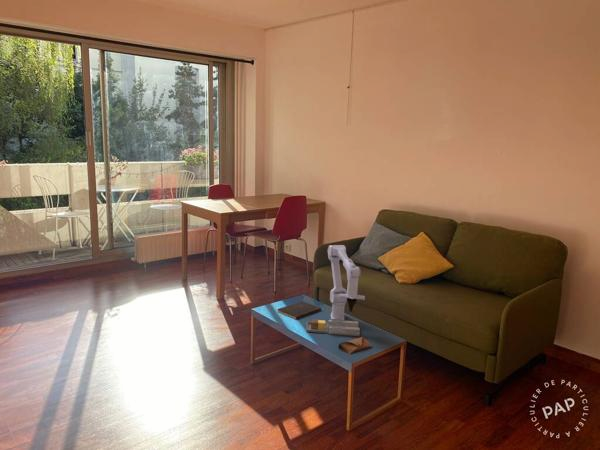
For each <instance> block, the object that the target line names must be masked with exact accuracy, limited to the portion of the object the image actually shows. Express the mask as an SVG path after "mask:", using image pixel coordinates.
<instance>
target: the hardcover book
mask: <svg viewBox="0 0 600 450" xmlns="http://www.w3.org/2000/svg"><path fill="white" fill-rule="evenodd" d="M276 311H277V312H278V313H279V314H282V315H284V316H287V317H289V318H291V319H294V320H295V321H296V320H300V319H301V318H305V317H307V316H309V315H313V314H315V313H316V314H317V313H319V312H321V311H322V308H321V307H319V306H318V305H317V306H316V305H314V304H311V303H310V302H309V303H308V302H307V301H306V302H305V301H303V300H302V301H298V302H295V303H292V304H290V305H289V304H288V305H286V306H283V307H280V308H277V309H276Z"/></svg>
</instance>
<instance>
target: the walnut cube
mask: <svg viewBox="0 0 600 450" xmlns="http://www.w3.org/2000/svg"><path fill="white" fill-rule="evenodd" d="M318 320H319V319H311V320H310V322H311V329H318Z"/></svg>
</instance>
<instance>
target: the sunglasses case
mask: <svg viewBox="0 0 600 450" xmlns="http://www.w3.org/2000/svg"><path fill="white" fill-rule="evenodd" d="M370 348H373V345H371V343H370V342H369V341H368V340H367V339H366V338H365V335H364V336H360V337H356V338H354V339H350V340H347V341H343V342H340V343H339V344H338V349H339V351H343V352H344V353H346V354H347V355H352V354H354V353H357V352H360V351H363V350H368V349H370Z"/></svg>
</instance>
